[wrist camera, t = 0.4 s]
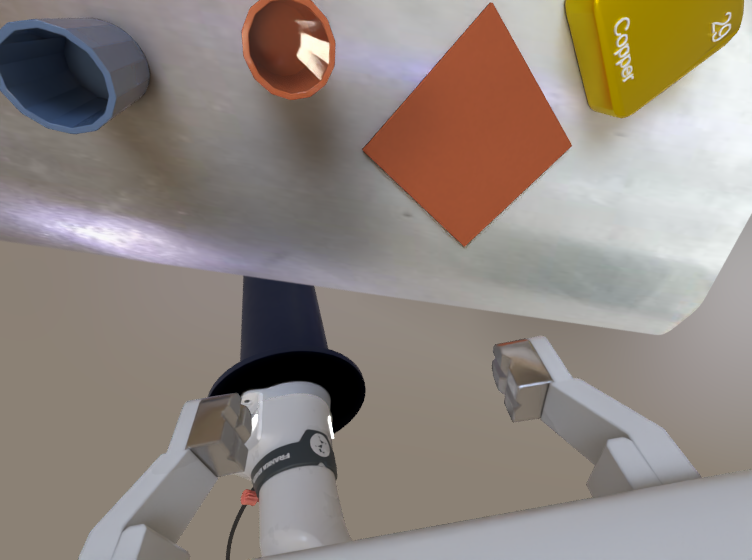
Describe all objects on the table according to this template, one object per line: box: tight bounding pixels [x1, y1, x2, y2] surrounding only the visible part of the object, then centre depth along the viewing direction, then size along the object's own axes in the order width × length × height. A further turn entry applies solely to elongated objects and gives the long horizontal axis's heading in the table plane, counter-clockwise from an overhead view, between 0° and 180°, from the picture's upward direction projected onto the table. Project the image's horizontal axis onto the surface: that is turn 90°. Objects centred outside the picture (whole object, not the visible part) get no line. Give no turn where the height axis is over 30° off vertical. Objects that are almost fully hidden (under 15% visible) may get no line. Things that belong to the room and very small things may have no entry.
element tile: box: [565, 0, 744, 118], centre depth 37 cm, size 15×15×5 cm
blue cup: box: [0, 18, 150, 134], centre depth 26 cm, size 6×6×10 cm
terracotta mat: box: [363, 3, 572, 247], centre depth 42 cm, size 18×20×1 cm
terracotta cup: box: [242, 0, 335, 100], centre depth 28 cm, size 6×6×10 cm
